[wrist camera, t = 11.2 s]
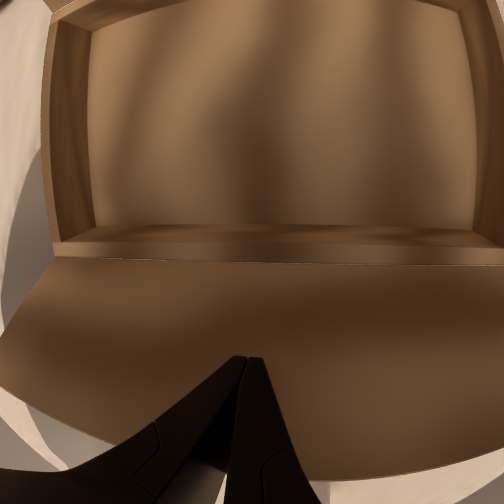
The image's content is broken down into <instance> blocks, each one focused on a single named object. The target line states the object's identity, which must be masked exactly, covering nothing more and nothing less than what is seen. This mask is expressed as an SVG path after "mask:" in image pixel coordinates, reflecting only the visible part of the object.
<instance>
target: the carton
mask: <svg viewBox="0 0 504 504" xmlns="http://www.w3.org/2000/svg"><path fill="white" fill-rule="evenodd" d="M41 156H42V172H43V183H44V193H45V201H46V208H47V215H48V222H49V228H50V233H51V239H52V244H53V249H54V254H55V256H69V257H96V258H123V259H153V260H186V261H223V262H266V263H317V264H388V265H504V24H503V21H502V18H501V14H500V12H499V9H498V6H497V3H496V0H77V1H75V2H73V3H71V4H69V5H67V6H66V7H64V8H62V9H61V10H59V11H57V12H56V13H54V14H52V16H51V21H50V26H49V32H48V37H47V44H46V51H45V59H44V67H43V78H42V92H41Z"/></svg>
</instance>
